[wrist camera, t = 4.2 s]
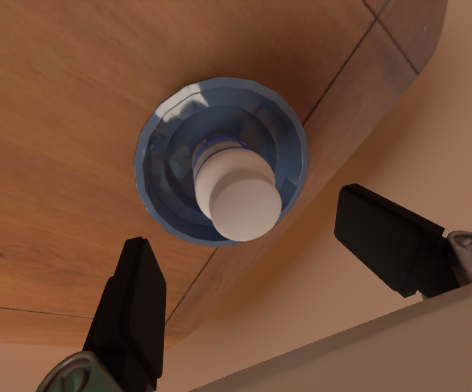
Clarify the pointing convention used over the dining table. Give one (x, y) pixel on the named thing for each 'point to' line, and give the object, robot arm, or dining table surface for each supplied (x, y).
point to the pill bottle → (234, 187)
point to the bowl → (202, 124)
